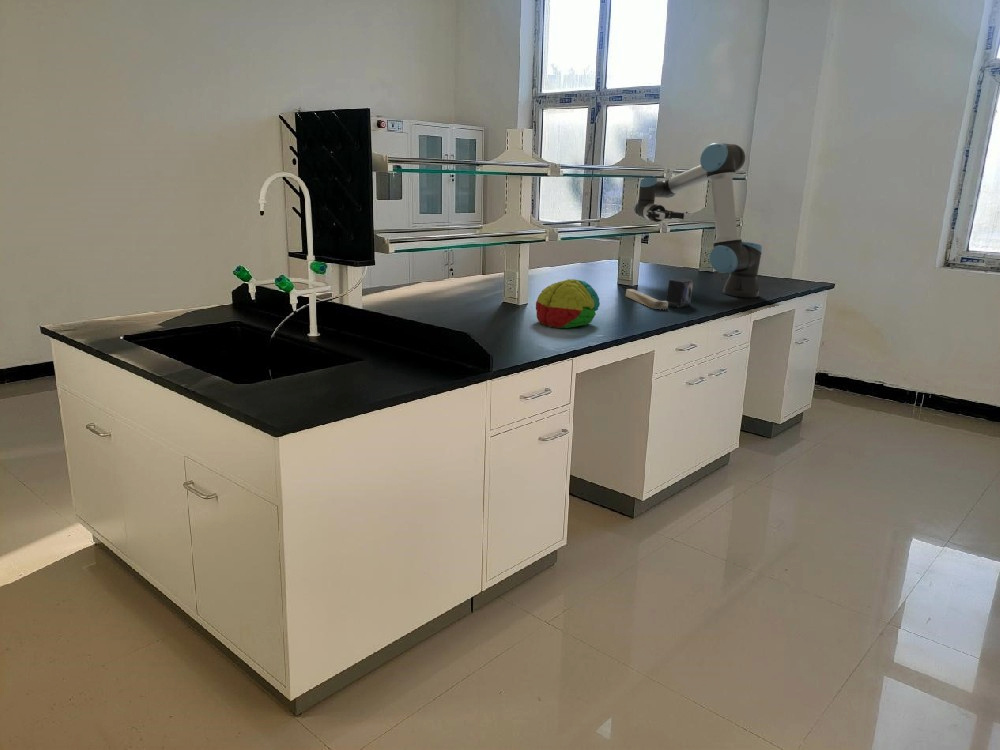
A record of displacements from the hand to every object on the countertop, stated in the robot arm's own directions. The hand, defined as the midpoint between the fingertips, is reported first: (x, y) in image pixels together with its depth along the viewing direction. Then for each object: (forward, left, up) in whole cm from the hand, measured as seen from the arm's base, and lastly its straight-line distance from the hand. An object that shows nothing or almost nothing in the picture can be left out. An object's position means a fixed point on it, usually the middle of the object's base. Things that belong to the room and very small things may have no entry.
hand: (678, 217), depth 308 cm
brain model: (+70, +59, -32) cm, 97 cm away
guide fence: (+24, +25, -32) cm, 47 cm away
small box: (+12, +30, -32) cm, 46 cm away
